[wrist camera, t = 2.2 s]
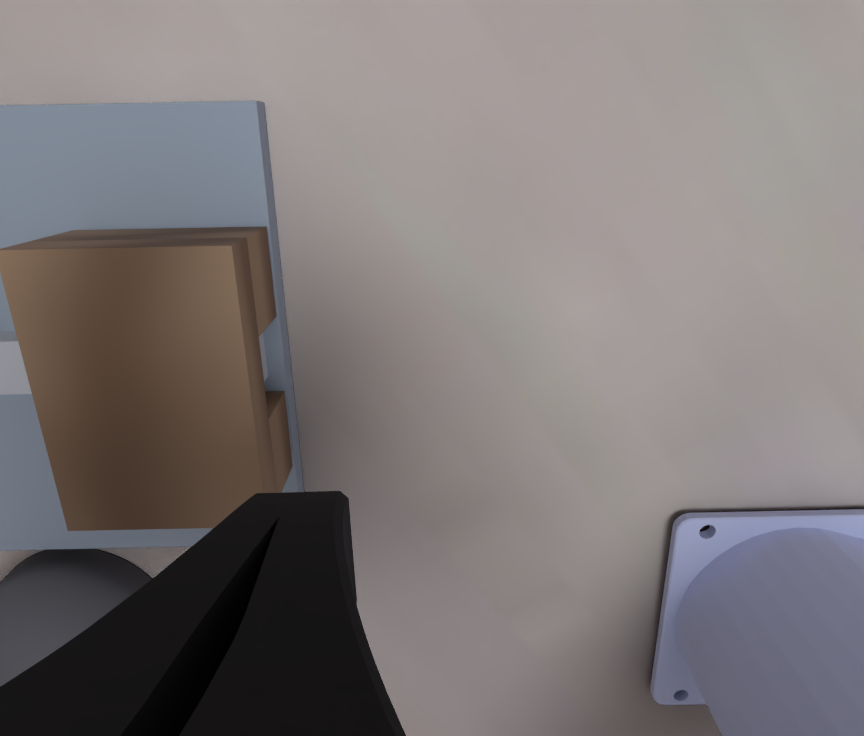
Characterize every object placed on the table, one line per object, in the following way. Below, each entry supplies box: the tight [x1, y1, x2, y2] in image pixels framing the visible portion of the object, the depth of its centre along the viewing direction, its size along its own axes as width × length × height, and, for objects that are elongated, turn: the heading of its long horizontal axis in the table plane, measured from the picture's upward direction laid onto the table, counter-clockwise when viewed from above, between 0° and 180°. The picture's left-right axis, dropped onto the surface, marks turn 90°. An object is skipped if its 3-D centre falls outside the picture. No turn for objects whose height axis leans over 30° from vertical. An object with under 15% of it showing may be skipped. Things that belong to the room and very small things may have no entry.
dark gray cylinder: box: [0, 549, 152, 687], centre depth 21 cm, size 6×6×2 cm
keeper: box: [0, 227, 293, 531], centre depth 16 cm, size 5×7×3 cm
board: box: [0, 101, 304, 551], centre depth 16 cm, size 14×13×4 cm
